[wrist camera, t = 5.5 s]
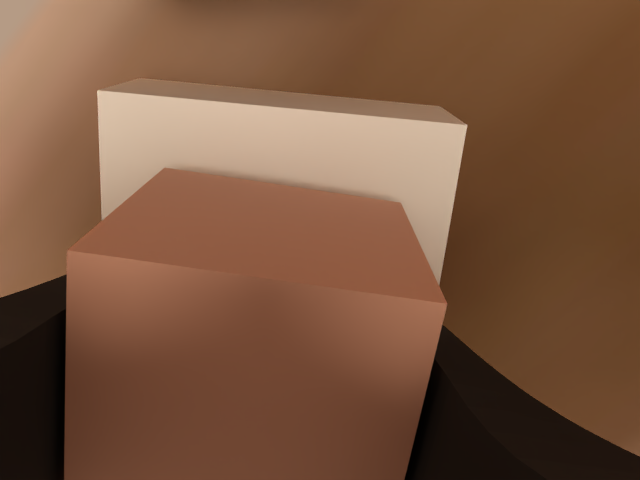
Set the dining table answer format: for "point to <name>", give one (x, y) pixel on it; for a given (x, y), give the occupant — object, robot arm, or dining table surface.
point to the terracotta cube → (247, 335)
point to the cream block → (285, 146)
